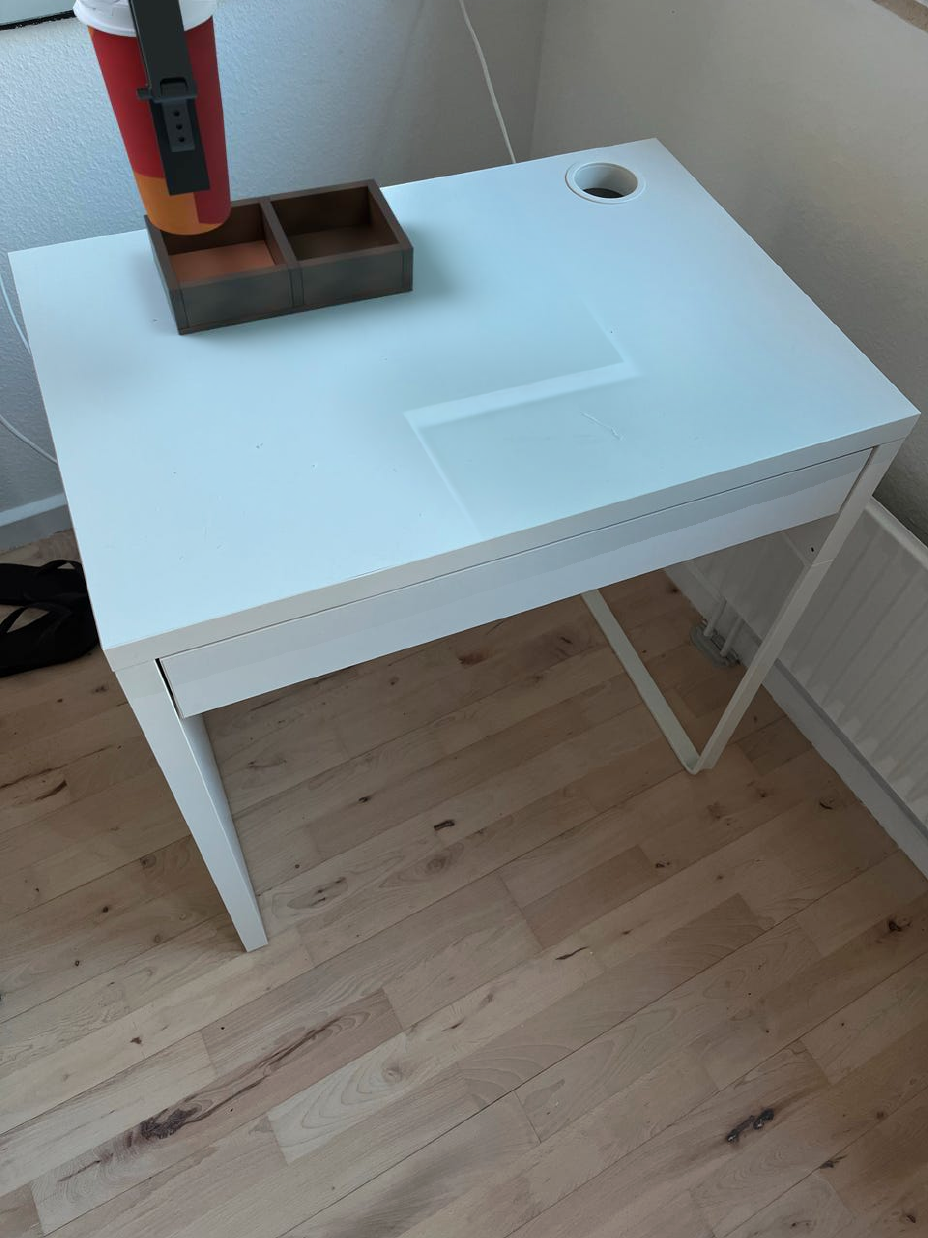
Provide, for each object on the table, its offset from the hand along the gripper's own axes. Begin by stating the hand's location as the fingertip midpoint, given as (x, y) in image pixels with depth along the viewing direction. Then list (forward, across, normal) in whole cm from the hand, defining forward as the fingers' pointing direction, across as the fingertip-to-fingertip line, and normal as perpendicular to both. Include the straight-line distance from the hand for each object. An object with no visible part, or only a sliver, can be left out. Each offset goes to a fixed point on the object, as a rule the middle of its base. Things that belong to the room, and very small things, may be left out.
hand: (176, 152), depth 64 cm
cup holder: (+20, +12, -8) cm, 25 cm away
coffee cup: (+4, 0, 0) cm, 4 cm away
